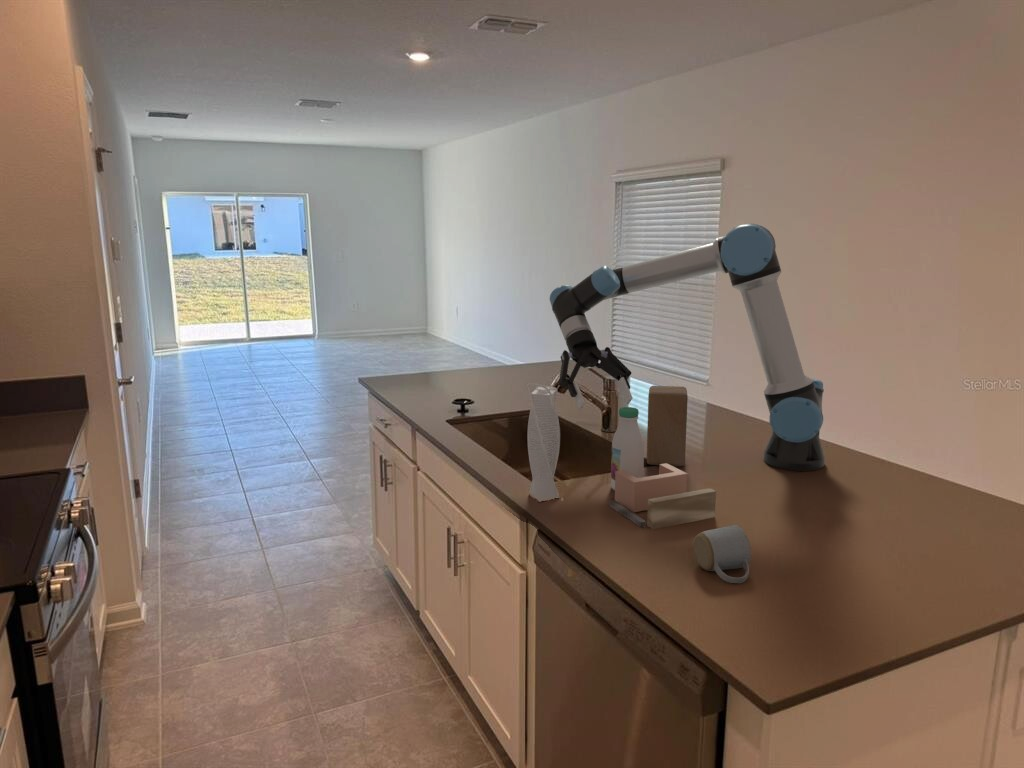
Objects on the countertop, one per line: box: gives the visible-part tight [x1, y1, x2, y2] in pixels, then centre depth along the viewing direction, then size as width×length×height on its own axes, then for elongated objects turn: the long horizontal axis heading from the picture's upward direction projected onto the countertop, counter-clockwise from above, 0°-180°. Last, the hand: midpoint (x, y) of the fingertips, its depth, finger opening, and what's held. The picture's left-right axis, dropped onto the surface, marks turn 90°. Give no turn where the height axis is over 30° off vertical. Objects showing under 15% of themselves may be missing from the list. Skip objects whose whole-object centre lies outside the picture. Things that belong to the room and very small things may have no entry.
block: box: [646, 385, 689, 467], centre depth 187 cm, size 10×10×20 cm
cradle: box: [614, 463, 688, 513], centre depth 159 cm, size 8×14×7 cm, turn 113°
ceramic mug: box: [693, 524, 752, 584], centre depth 126 cm, size 11×8×8 cm
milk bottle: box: [610, 406, 645, 491], centre depth 167 cm, size 8×8×20 cm
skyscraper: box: [526, 382, 561, 500], centre depth 161 cm, size 8×7×28 cm
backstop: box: [608, 487, 717, 530], centre depth 154 cm, size 15×19×6 cm
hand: (606, 404), depth 174 cm, fingers open, 13 cm apart
